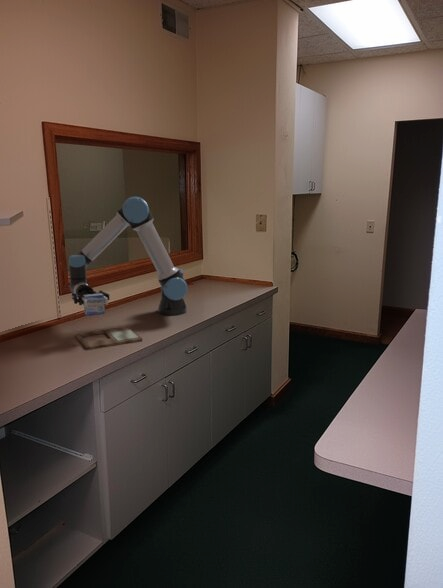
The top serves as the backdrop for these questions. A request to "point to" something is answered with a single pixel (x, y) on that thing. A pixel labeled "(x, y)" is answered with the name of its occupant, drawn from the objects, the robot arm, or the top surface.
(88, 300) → the medicine box
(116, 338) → the pocket board
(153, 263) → the robot arm
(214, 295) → the top surface
